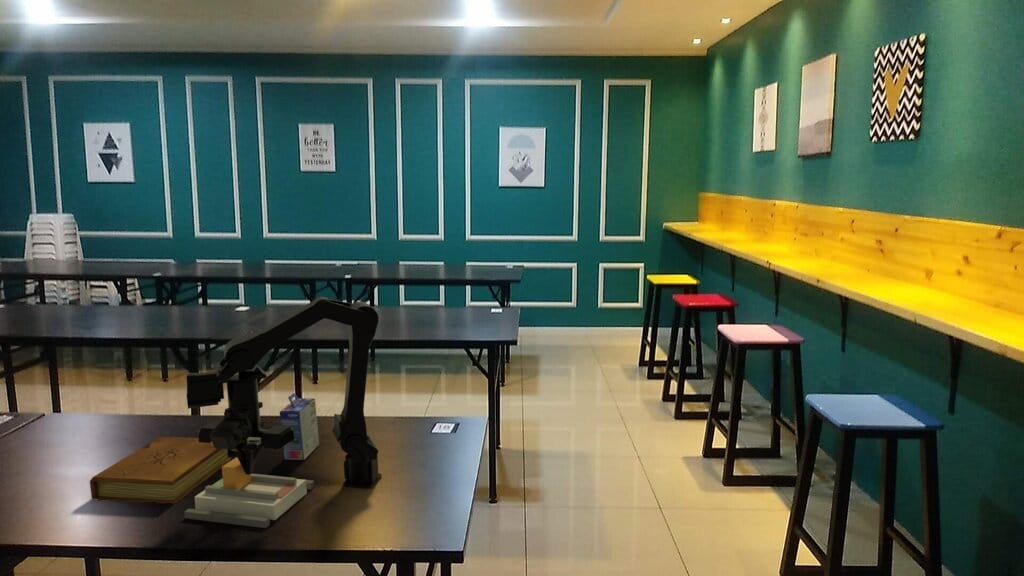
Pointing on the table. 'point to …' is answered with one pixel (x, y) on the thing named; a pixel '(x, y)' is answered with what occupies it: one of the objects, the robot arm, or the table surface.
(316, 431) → the ink cartridge box
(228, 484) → the handle
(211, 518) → the grey base plate
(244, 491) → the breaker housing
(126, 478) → the diary
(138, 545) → the table surface
